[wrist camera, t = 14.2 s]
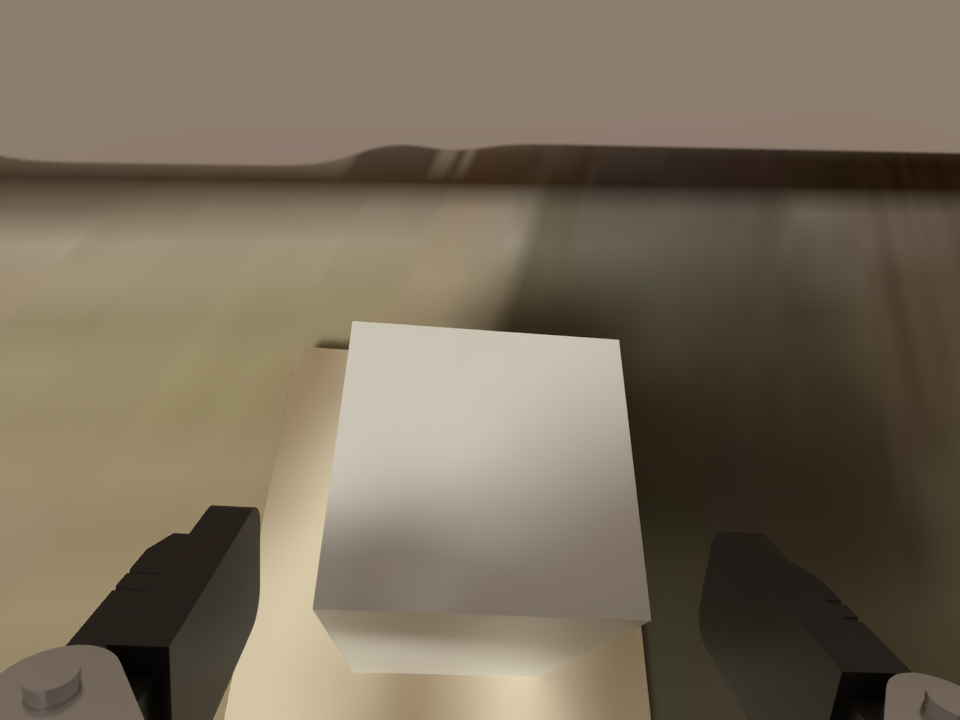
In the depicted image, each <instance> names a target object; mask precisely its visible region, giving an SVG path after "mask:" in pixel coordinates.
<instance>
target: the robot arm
mask: <svg viewBox="0 0 960 720" xmlns="http://www.w3.org/2000/svg"><path fill="white" fill-rule="evenodd" d="M259 597H260V515H259V511H258V509H257V508H256V507H235V506H215V505H212V506H210V507H209V508H208V509H207V511H206V512H205V513H204V515H203V516H202V517H201V519H200V520H199V521H198V523H197V524H196V525H195V527H194V528H193V529H192V531H191V532H190V533H189V534H178V533H173V534H172V535H170V536H168V537H167V538H165V539H163V540H162V541H160V542H158V543H157V544H155V545H153V546H152V547H150V548H148V549H147V550H146V551H145V552H144V553H143V554H142V556H141V557H140V558H139V559H138V560H137V561H136V563H135V564H134V565H133V566H132V567H131V569H130V572H129V573H126V575H125V576H124V577H123V578H122V579H121V581H120V582H119V583H118V584H117V585H116V589H115V591H114V590H112V591H111V593H110V594H109V595H108V596H107V597H106V599H105V600H104V601H103V602H102V603H101V605H100V606H99V607H98V608H97V609H96V610H95V612H94V613H93V614H92V615H91V616H90V618H89V619H88V620H87V621H86V622H85V624H84V625H83V626H82V627H81V628H80V630H79V631H78V632H77V633H76V634H75V636H74V637H73V638H72V639H71V640H70V642H69V643H68V644H67V645H66V646H63V647H58V648H53V649H50V650H46V651H43V652H40V653H37V654H35V655H32V656H30V657H28V658H25V659H23V660H21V661H19V662H17V663H16V664H14V665H12V666H10V667H9V668H7V669H6V670H5V671H3V672H2V673H0V720H213V718H214V715H215V713H216V711H217V709H218V706H219V704H220V702H221V699H222V697H223V695H224V693H225V690H226V688H227V686H228V684H229V681H230V679H231V677H232V674H233V672H234V670H235V668H236V665H237V663H238V661H239V659H240V656H241V654H242V652H243V649H244V647H245V645H246V643H247V640H248V638H249V636H250V633H251V631H252V629H253V626H254V623H255V619H256V615H257V611H258V605H259ZM699 626H700V632H701V636H702V640H703V642H704V645H705V647H706V649H707V650H708V652H709V654H710V656H711V657H712V659H713V661H714V663H715V664H716V666H717V668H718V669H719V671H720V673H721V675H722V676H723V678H724V680H725V681H726V683H727V685H728V687H729V688H730V690H731V692H732V694H733V695H734V697H735V699H736V700H737V702H738V704H739V706H740V707H741V709H742V711H743V713H744V714H745V716H746V718H747V719H748V720H960V686H958V685H956V684H954V683H951V682H949V681H946V680H943V679H940V678H938V677H934V676H930V675H926V674H920V673H912V672H911V671H910V670H909V669H908V668H907V667H906V666H905V665H904V664H903V663H902V662H901V661H900V660H899V659H898V658H897V657H896V656H895V655H894V654H893V653H892V652H891V651H890V650H889V649H888V648H887V647H886V646H885V645H884V643H883V642H882V641H881V640H880V639H879V638H878V637H877V636H876V635H875V634H874V633H873V632H872V631H871V630H870V629H869V628H868V627H867V626H866V625H865V624H864V623H863V622H859V621H858V617H857V616H856V615H855V614H854V613H853V612H852V611H851V610H850V609H849V608H848V607H847V606H846V605H842V603H841V600H840V599H839V598H838V597H837V596H836V595H835V594H834V593H833V592H832V591H831V589H830V588H829V587H828V586H827V585H826V584H825V583H824V582H823V581H822V580H820V579H818V578H817V577H815V576H814V575H812V574H810V573H809V572H807V571H806V570H804V569H802V568H801V567H799V566H798V565H796V564H794V563H791V562H790V561H789V560H788V559H787V558H786V557H785V556H784V555H783V554H782V553H781V552H780V551H779V550H778V548H777V547H776V546H775V545H774V544H773V543H772V542H771V541H770V540H769V539H768V538H767V537H766V536H765V535H763V534H758V533H738V532H719V533H717V534H716V535H715V537H714V539H713V541H712V545H711V550H710V555H709V560H708V566H707V571H706V576H705V582H704V587H703V592H702V597H701V603H700V608H699Z"/></svg>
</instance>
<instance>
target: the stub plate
mask: <svg viewBox="0 0 960 720" xmlns="http://www.w3.org/2000/svg"><path fill="white" fill-rule="evenodd" d="M348 351H349V350H343V349H328V348H314V347H300V346H297V347H296V353H295V358H294V363H293V368H292V373H291V378H290V383H289V389H288V394H287V399H286V404H285V409H284V414H283V420H282V425H281V430H280V435H279V440H278V445H277V450H276V456H275V461H274V466H273V471H272V476H271V481H270V487H269V492H268V497H267V502H266V507H265V512H264V517H263V523H262V528H261V533H260V597H259V605H258V611H257V615H256V619H255V623H254V626H253V629H252V631H251V633H250V636H249V638H248V640H247V643H246V645H245V647H244V649H243V652H242V654H241V656H240V659H239V661H238V663H237V665H236V668H235V670H234V672H233V677H232V682H231V687H230V693H229V698H228V703H227V708H226V713H225V718H224V720H651V716H650V706H649V697H648V687H647V677H646V668H645V658H644V648H643V638H642V629H641V626H639V627H637V628H635V629H633V630H631V631H629V632H627V633H625V634H623V635H621V636H619V637H617V638H615V639H613V640H611V641H609V642H607V643H605V644H603V645H601V646H599V647H597V648H595V649H593V650H591V651H589V652H587V653H585V654H583V655H581V656H579V657H577V658H575V659H573V660H571V661H569V662H567V663H565V664H563V665H561V666H559V667H557V668H555V669H553V670H551V671H549V672H547V673H545V674H543V675H541V676H539V677H520V676H480V675H441V674H402V673H363V672H352V670H351V669H350V667H349V666H348V664H347V662H346V661H345V659H344V658H343V656H342V655H341V653H340V651H339V650H338V648H337V647H336V645H335V644H334V642H333V641H332V639H331V637H330V636H329V634H328V633H327V631H326V630H325V628H324V626H323V625H322V623H321V622H320V620H319V619H318V617H317V615H316V614H315V612H314V611H313V602H314V595H315V587H316V580H317V573H318V566H319V559H320V552H321V544H322V537H323V530H324V523H325V516H326V509H327V501H328V494H329V487H330V480H331V473H332V466H333V458H334V451H335V444H336V437H337V430H338V423H339V415H340V408H341V401H342V394H343V387H344V380H345V372H346V365H347V358H348Z"/></svg>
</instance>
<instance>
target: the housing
mask: <svg viewBox="0 0 960 720" xmlns="http://www.w3.org/2000/svg"><path fill="white" fill-rule="evenodd" d="M313 611H314V612H315V614H316V615H317V617H318V619H319V620H320V622H321V623H322V625H323V626H324V628H325V630H326V631H327V633H328V634H329V636H330V637H331V639H332V641H333V642H334V644H335V645H336V647H337V648H338V650H339V651H340V653H341V655H342V656H343V658H344V659H345V661H346V662H347V664H348V666H349V667H350V669H351V670H352V672H363V673H402V674H441V675H480V676H520V677H539V676H541V675H543V674H545V673H547V672H549V671H551V670H553V669H555V668H557V667H559V666H561V665H563V664H565V663H567V662H569V661H571V660H573V659H575V658H577V657H579V656H581V655H583V654H585V653H587V652H589V651H591V650H593V649H595V648H597V647H599V646H601V645H603V644H605V643H607V642H609V641H611V640H613V639H615V638H617V637H619V636H621V635H623V634H625V633H627V632H629V631H631V630H633V629H635V628H637V627H639V626H641V625H643V624H645V623H647V622H649V621H651V614H650V605H649V596H648V588H647V579H646V570H645V562H644V553H643V544H642V536H641V527H640V518H639V510H638V501H637V492H636V484H635V475H634V466H633V457H632V449H631V440H630V431H629V423H628V414H627V405H626V397H625V388H624V379H623V371H622V362H621V353H620V345H619V340H613V339H599V338H585V337H570V336H556V335H542V334H528V333H514V332H499V331H485V330H471V329H457V328H443V327H429V326H414V325H400V324H386V323H372V322H358V321H353V322H352V329H351V337H350V344H349V351H348V358H347V365H346V372H345V380H344V387H343V394H342V401H341V408H340V415H339V423H338V430H337V437H336V444H335V451H334V458H333V466H332V473H331V480H330V487H329V494H328V501H327V509H326V516H325V523H324V530H323V537H322V544H321V552H320V559H319V566H318V573H317V580H316V587H315V595H314V602H313Z"/></svg>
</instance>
